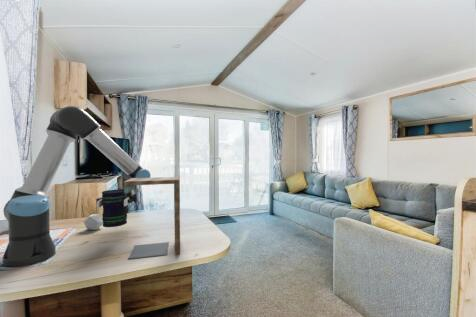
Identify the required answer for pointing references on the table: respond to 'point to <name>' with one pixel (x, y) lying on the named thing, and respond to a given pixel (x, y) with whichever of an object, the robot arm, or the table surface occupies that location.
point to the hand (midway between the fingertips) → (111, 203)
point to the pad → (149, 250)
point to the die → (93, 222)
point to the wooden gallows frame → (131, 183)
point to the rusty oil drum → (114, 208)
